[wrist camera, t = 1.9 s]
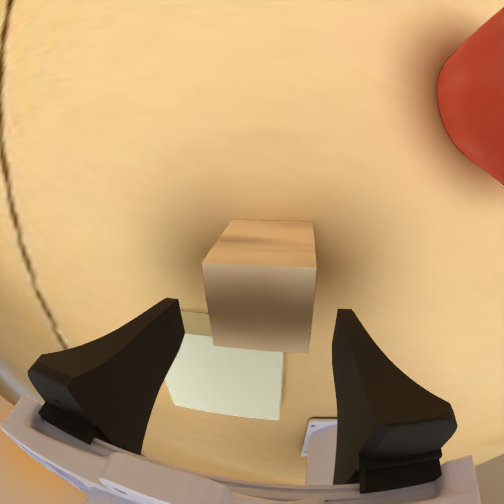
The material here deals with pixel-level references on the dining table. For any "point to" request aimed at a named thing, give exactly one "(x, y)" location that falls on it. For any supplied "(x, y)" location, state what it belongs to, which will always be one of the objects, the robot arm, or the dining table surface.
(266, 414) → the base block
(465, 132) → the flower pot
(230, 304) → the maple block
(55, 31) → the dining table surface
